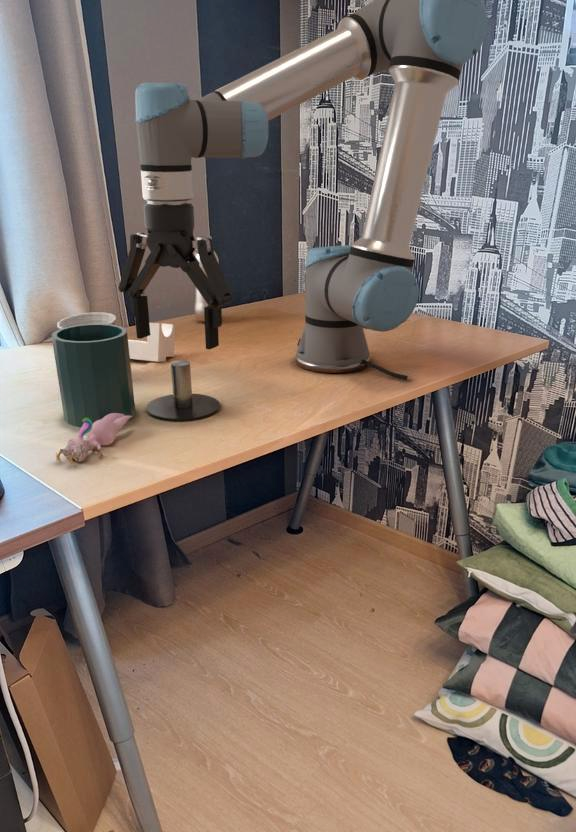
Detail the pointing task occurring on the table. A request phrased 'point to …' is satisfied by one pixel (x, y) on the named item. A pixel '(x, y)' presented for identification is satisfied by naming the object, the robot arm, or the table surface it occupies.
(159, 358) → the bracket
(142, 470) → the table surface
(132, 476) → the table surface
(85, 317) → the plastic cup
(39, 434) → the table surface
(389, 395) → the table surface
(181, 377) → the lid
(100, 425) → the pink toy creature
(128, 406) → the cup
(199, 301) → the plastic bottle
